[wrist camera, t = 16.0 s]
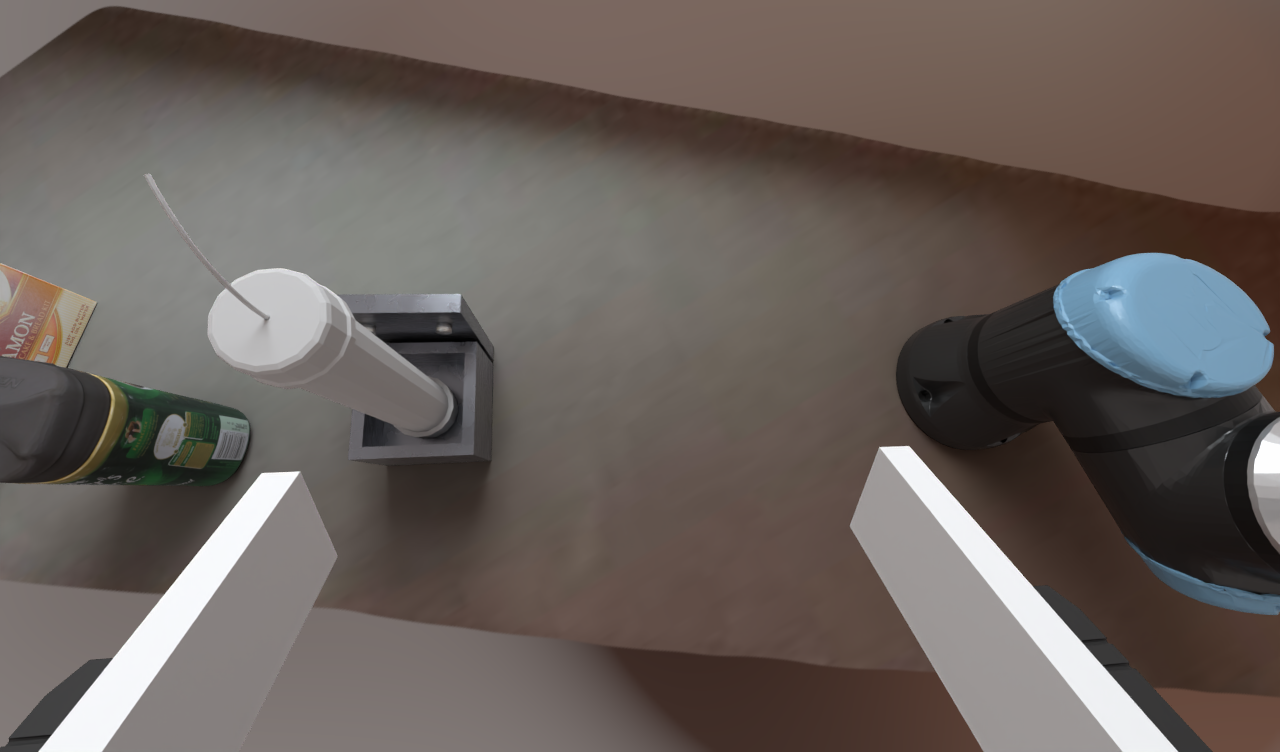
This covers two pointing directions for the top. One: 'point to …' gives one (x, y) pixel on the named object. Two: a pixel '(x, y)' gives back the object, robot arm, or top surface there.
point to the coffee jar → (110, 431)
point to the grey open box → (440, 348)
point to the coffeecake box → (39, 318)
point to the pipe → (318, 347)
